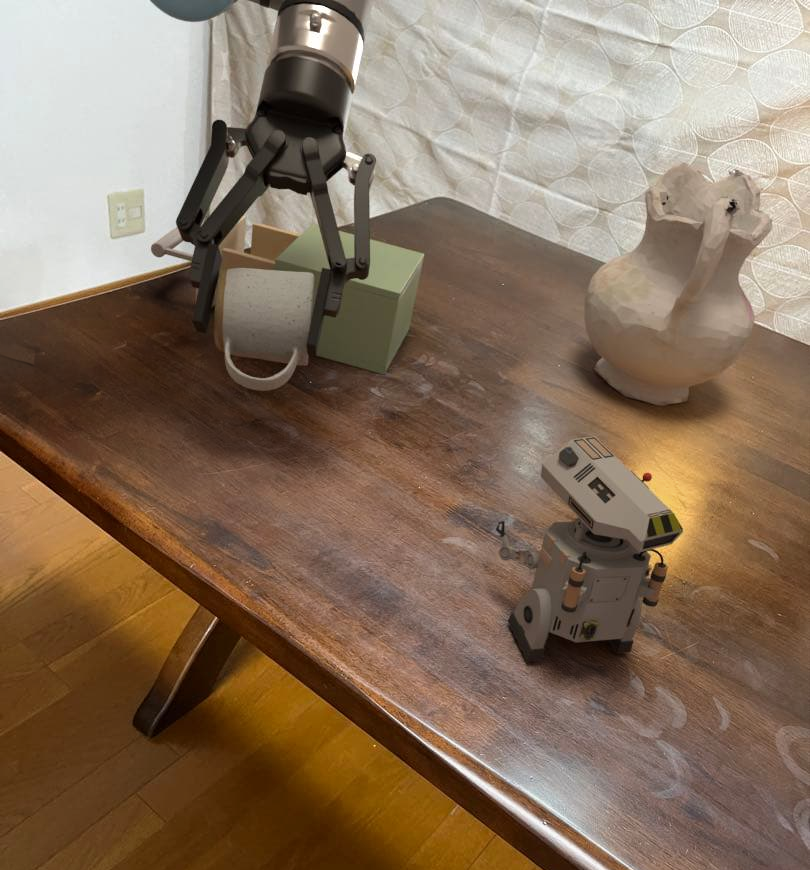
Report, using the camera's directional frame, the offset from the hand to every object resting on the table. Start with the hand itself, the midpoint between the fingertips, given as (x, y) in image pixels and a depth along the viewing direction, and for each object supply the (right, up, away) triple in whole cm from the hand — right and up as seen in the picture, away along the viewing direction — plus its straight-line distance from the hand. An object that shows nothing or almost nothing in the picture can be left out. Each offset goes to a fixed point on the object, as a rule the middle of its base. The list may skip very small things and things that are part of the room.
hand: (255, 338), depth 70 cm
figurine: (+24, -23, -1) cm, 33 cm away
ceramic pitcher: (+41, +3, +36) cm, 54 cm away
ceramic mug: (0, -1, +5) cm, 5 cm away
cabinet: (+5, +7, +31) cm, 32 cm away
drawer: (-7, +12, +31) cm, 34 cm away
